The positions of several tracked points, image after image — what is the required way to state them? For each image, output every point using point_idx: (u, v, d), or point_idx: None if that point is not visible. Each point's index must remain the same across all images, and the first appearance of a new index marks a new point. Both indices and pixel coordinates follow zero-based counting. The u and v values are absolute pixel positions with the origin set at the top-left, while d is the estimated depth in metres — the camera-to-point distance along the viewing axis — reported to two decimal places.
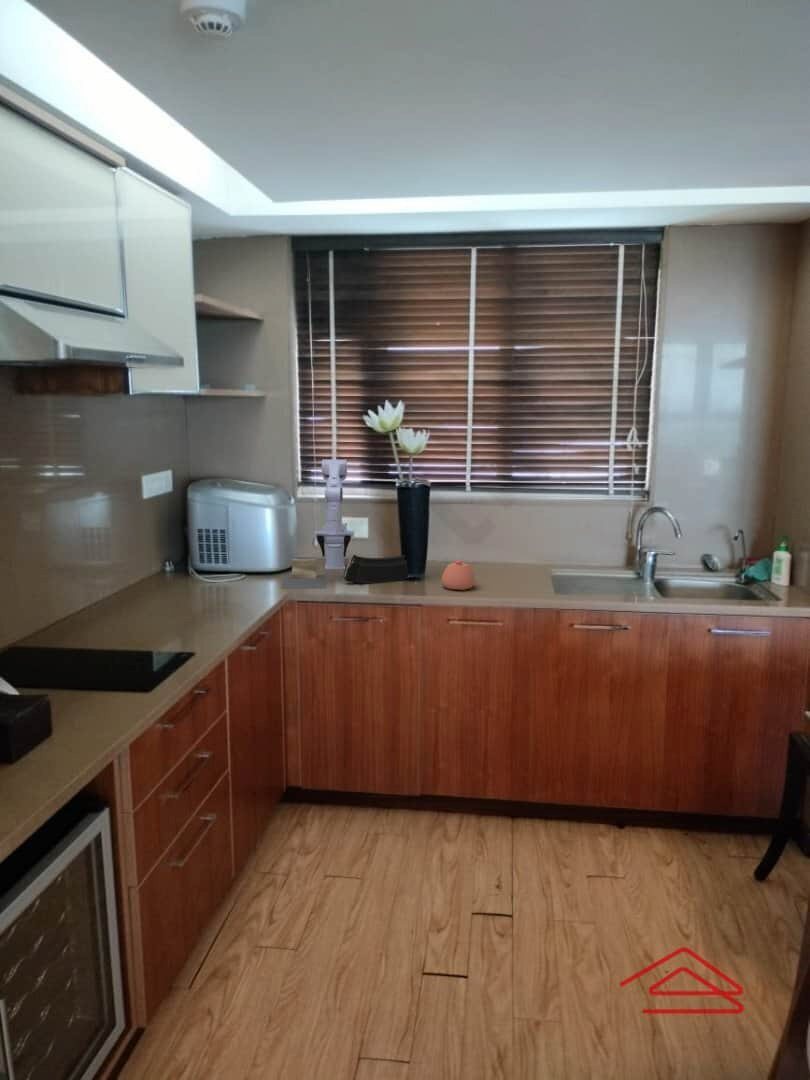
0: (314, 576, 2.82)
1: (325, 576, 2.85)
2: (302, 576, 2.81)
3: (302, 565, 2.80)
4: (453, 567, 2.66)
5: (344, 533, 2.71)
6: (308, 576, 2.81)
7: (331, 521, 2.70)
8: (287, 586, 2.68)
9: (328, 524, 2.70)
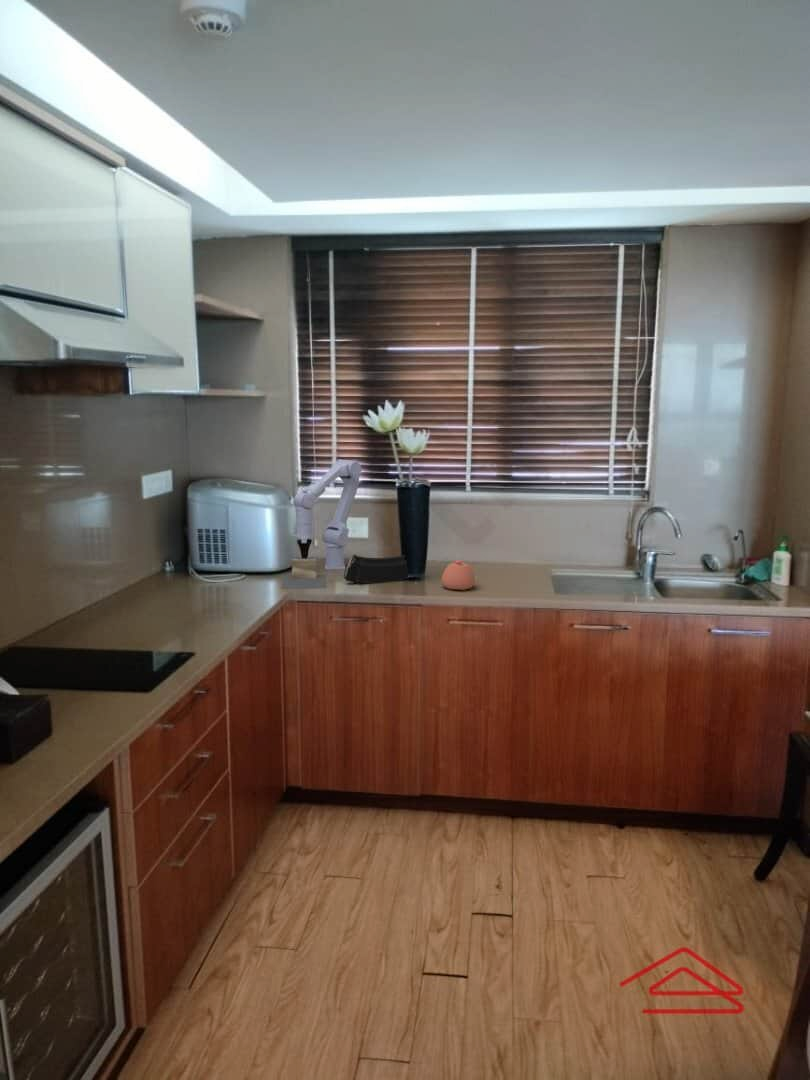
0: (314, 576, 2.82)
1: (325, 576, 2.85)
2: (302, 576, 2.81)
3: (302, 565, 2.80)
4: (453, 567, 2.66)
5: (299, 537, 2.85)
6: (308, 576, 2.81)
7: None
8: (287, 586, 2.68)
9: None
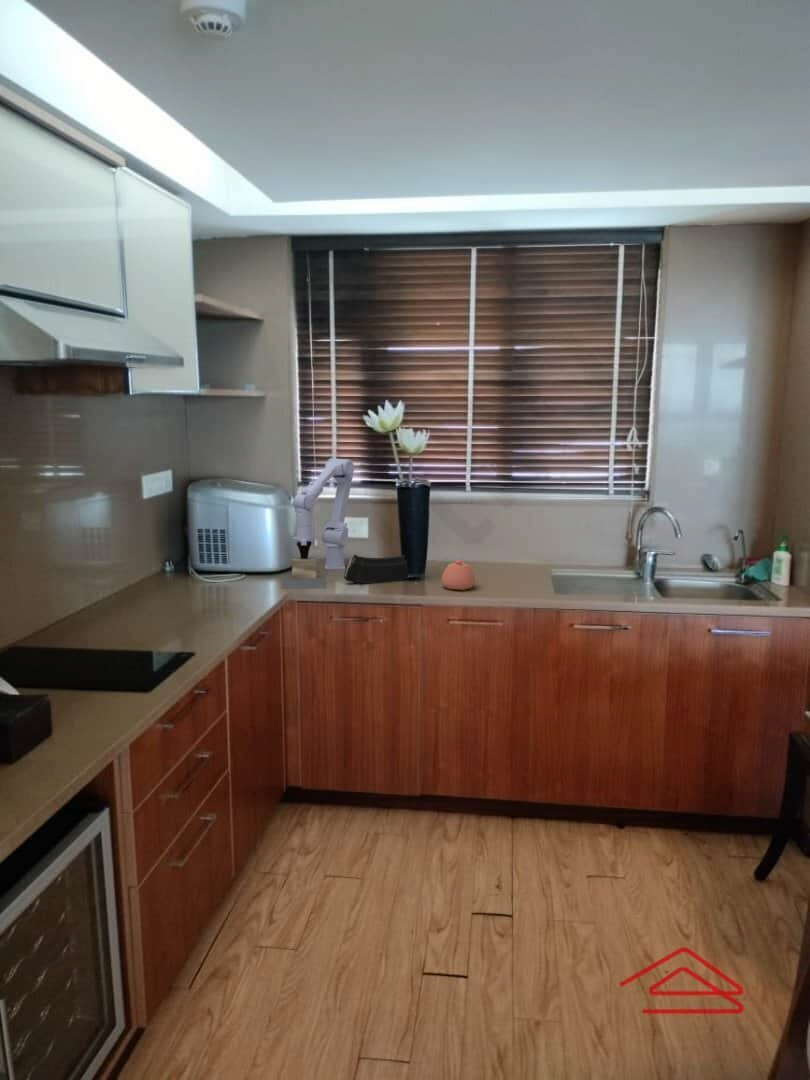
0: (314, 576, 2.82)
1: (325, 576, 2.85)
2: (302, 576, 2.81)
3: (302, 565, 2.80)
4: (453, 567, 2.66)
5: (299, 539, 2.81)
6: (308, 576, 2.81)
7: None
8: (287, 586, 2.68)
9: None
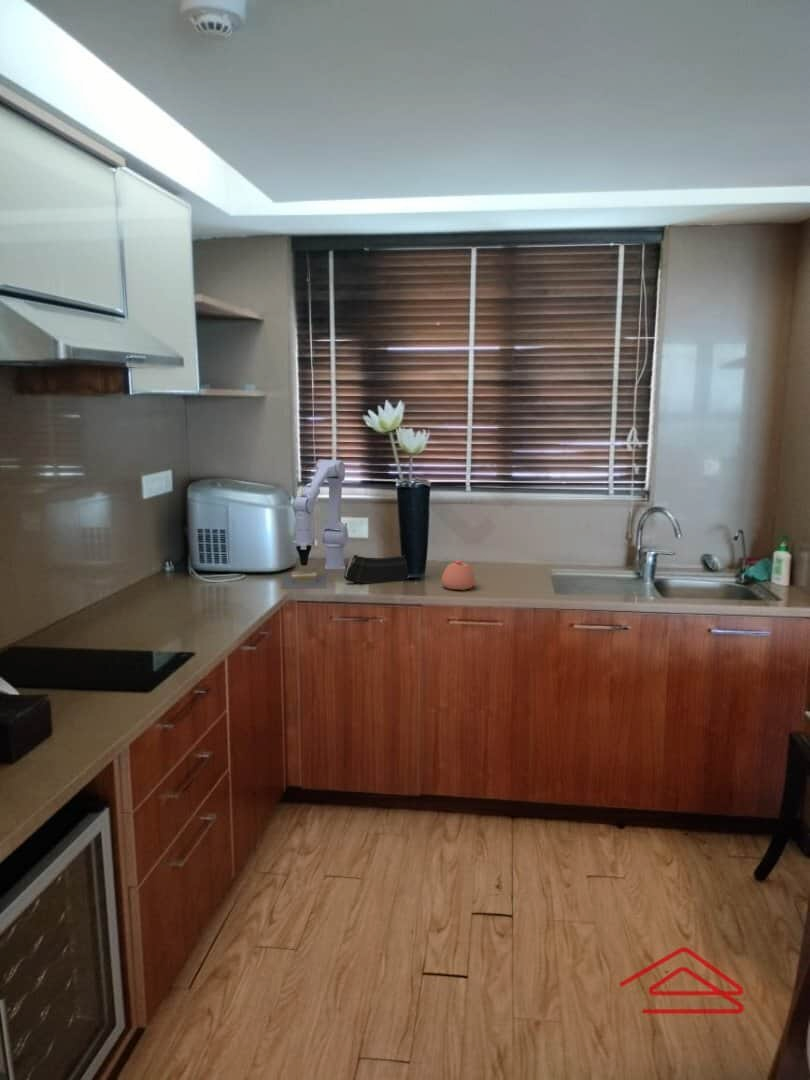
0: None
1: (325, 576, 2.85)
2: None
3: None
4: (453, 567, 2.66)
5: (298, 543, 2.72)
6: None
7: None
8: (287, 586, 2.68)
9: None
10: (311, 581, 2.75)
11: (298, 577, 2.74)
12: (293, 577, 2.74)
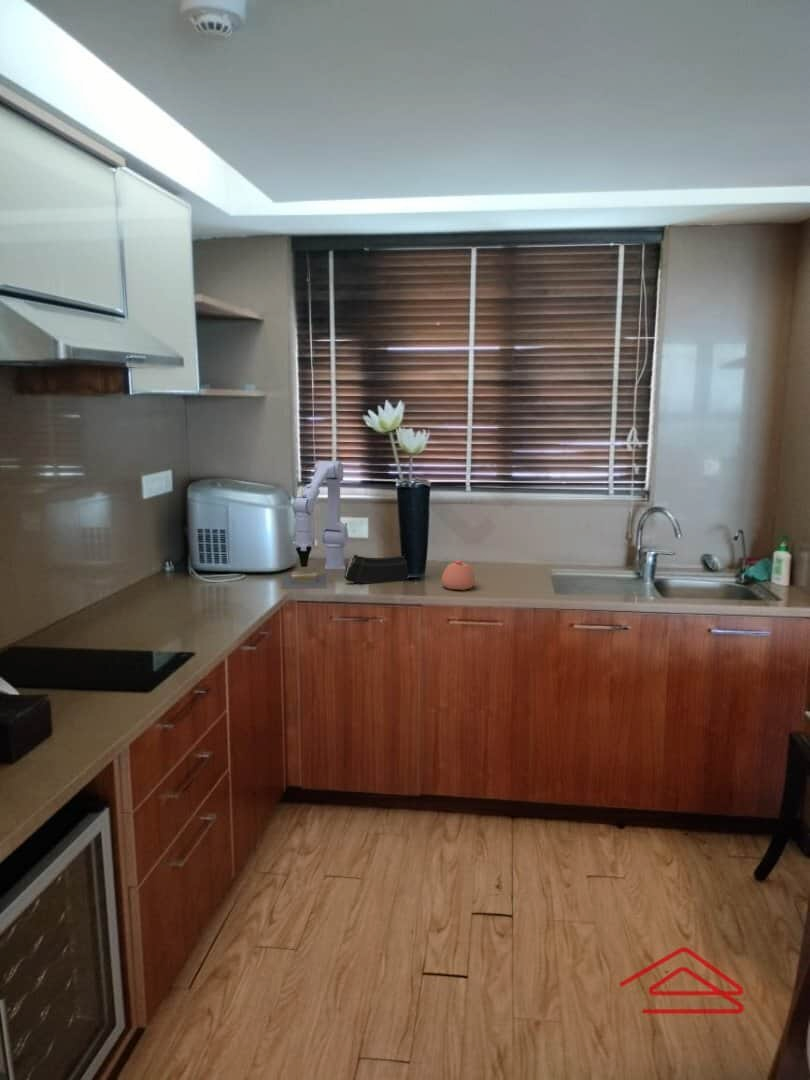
0: None
1: (325, 576, 2.85)
2: None
3: None
4: (453, 567, 2.66)
5: (298, 545, 2.70)
6: None
7: None
8: (287, 586, 2.68)
9: None
10: (311, 581, 2.75)
11: (298, 577, 2.74)
12: (293, 577, 2.74)
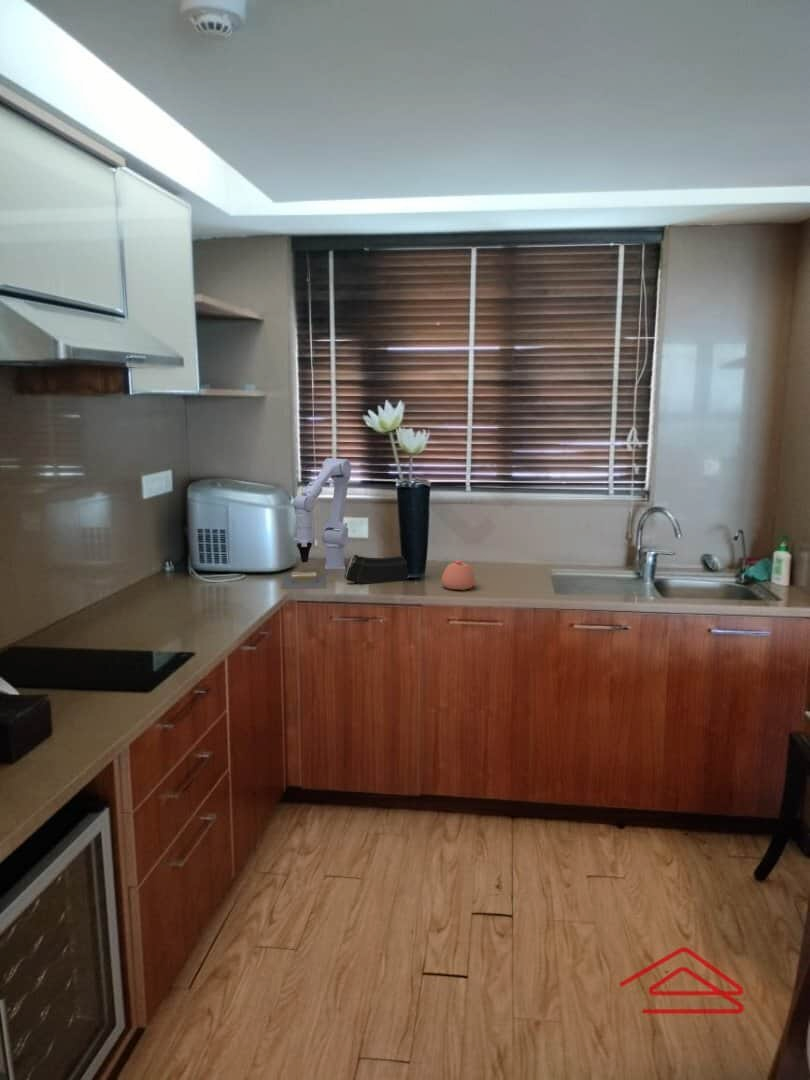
0: None
1: (325, 576, 2.85)
2: None
3: None
4: (453, 567, 2.66)
5: (299, 541, 2.79)
6: None
7: None
8: (287, 586, 2.68)
9: None
10: (311, 581, 2.75)
11: (298, 577, 2.74)
12: (293, 577, 2.74)
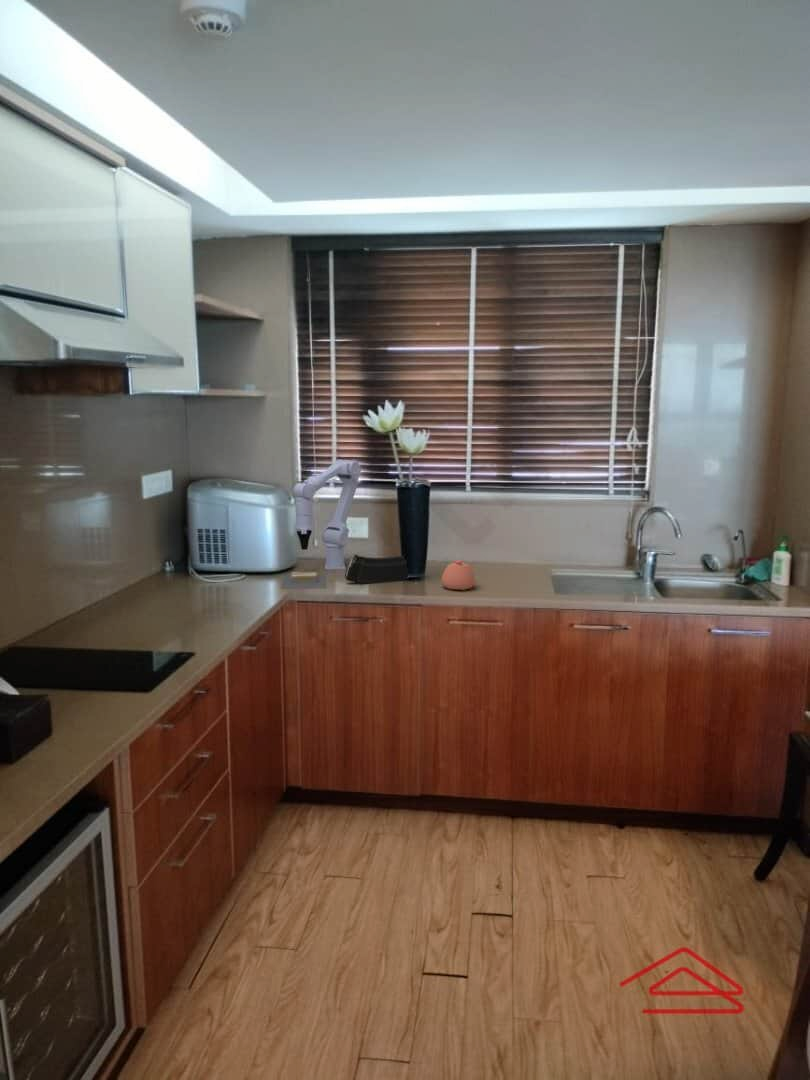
0: None
1: (325, 576, 2.85)
2: None
3: None
4: (453, 567, 2.66)
5: (299, 528, 2.82)
6: None
7: None
8: (287, 586, 2.68)
9: None
10: (311, 581, 2.75)
11: (298, 577, 2.74)
12: (293, 577, 2.74)
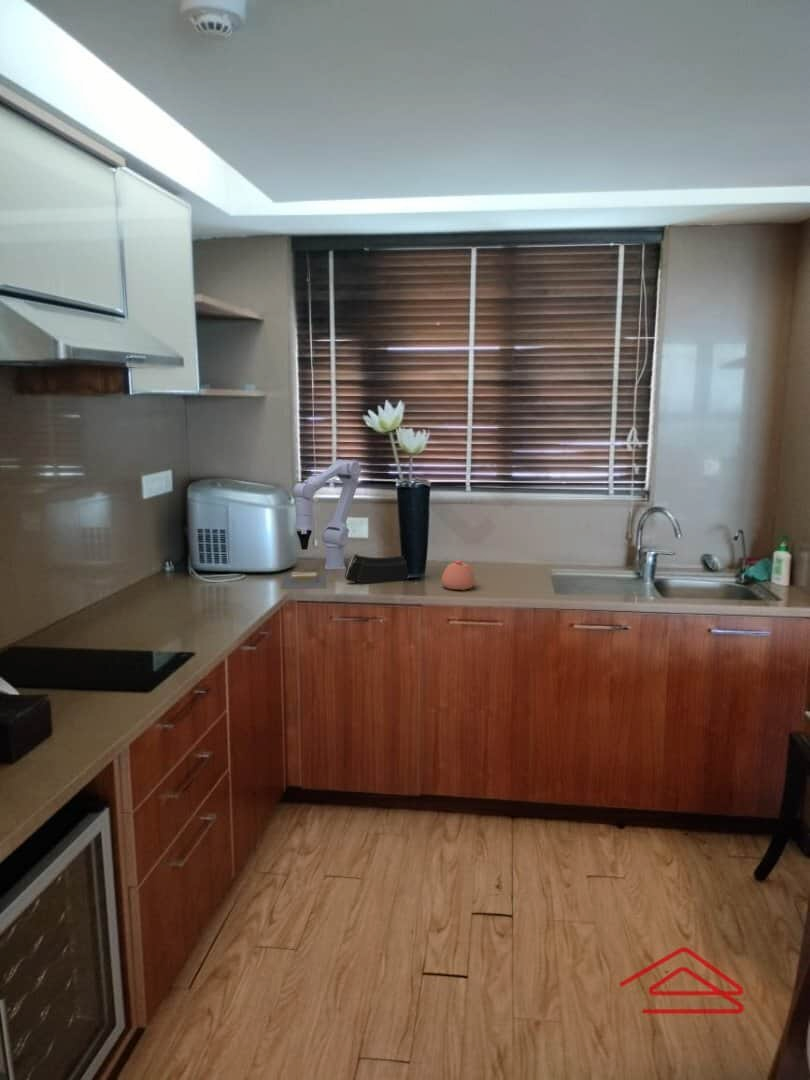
0: None
1: (325, 576, 2.85)
2: None
3: None
4: (453, 567, 2.66)
5: (299, 528, 2.82)
6: None
7: None
8: (287, 586, 2.68)
9: None
10: (311, 581, 2.75)
11: (298, 577, 2.74)
12: (293, 577, 2.74)
